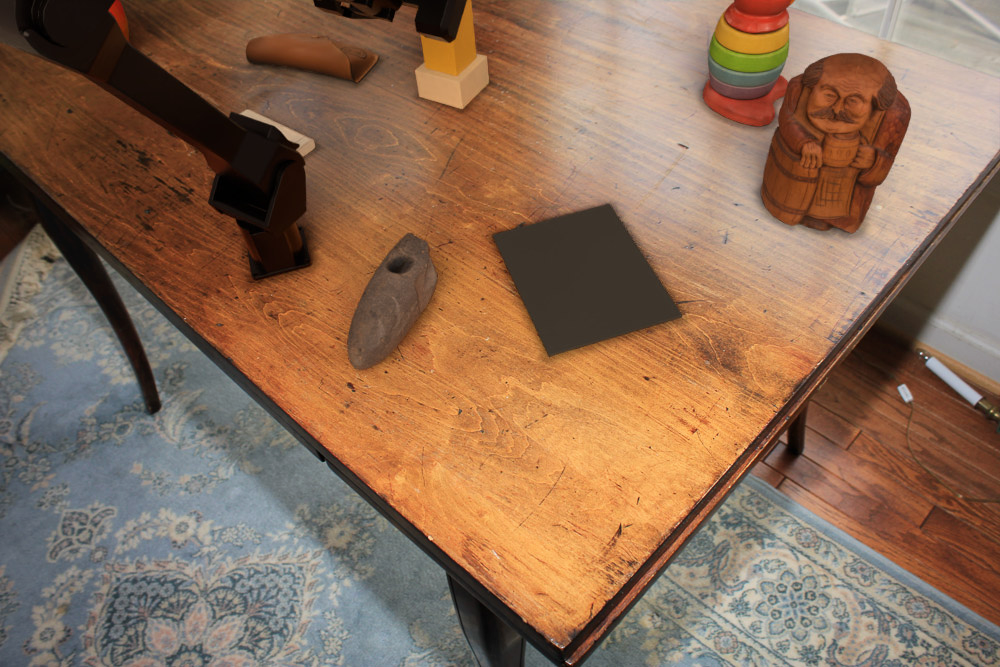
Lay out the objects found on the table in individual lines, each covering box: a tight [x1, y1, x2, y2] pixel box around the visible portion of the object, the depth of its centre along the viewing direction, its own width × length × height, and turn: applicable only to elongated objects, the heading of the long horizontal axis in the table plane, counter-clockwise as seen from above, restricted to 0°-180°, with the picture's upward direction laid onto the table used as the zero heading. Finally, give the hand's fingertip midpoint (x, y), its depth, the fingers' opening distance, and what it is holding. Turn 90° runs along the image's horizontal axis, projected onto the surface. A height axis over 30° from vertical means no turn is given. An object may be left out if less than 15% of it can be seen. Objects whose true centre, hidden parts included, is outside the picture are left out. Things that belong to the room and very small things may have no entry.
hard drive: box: [239, 108, 316, 157], centre depth 95 cm, size 2×8×12 cm
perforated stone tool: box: [346, 232, 438, 371], centre depth 72 cm, size 15×5×7 cm, turn 155°
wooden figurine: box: [760, 52, 912, 234], centre depth 75 cm, size 12×6×18 cm, turn 67°
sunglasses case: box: [245, 32, 380, 84], centre depth 107 cm, size 18×7×7 cm
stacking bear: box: [702, 0, 796, 127], centre depth 89 cm, size 11×10×18 cm
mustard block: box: [419, 0, 477, 76], centre depth 95 cm, size 5×5×10 cm
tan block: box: [414, 52, 490, 110], centre depth 100 cm, size 7×7×4 cm
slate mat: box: [492, 203, 683, 358], centre depth 78 cm, size 18×14×1 cm
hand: (424, 22), depth 90 cm, fingers open, 9 cm apart
